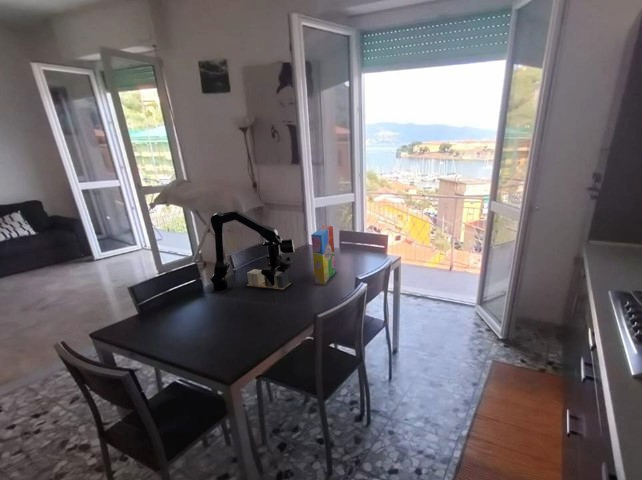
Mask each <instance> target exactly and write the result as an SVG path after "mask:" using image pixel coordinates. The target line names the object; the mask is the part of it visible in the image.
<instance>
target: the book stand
mask: <svg viewBox="0 0 642 480" xmlns="http://www.w3.org/2000/svg"><path fill="white" fill-rule="evenodd" d="M264 280H265V282H263V283H262V284H260V285H250V284H249V283H247V284H246V286H248V287H255V288H256V287H257V288H265V289H274V290H275V289H276V290H285V289H286V288H287V287H288V286H290V285H291V284H292V282H289V284H288V285H287V286H285V287H284V288H277V287H268V286H267V279H266V276H265V275H264Z"/></svg>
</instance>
